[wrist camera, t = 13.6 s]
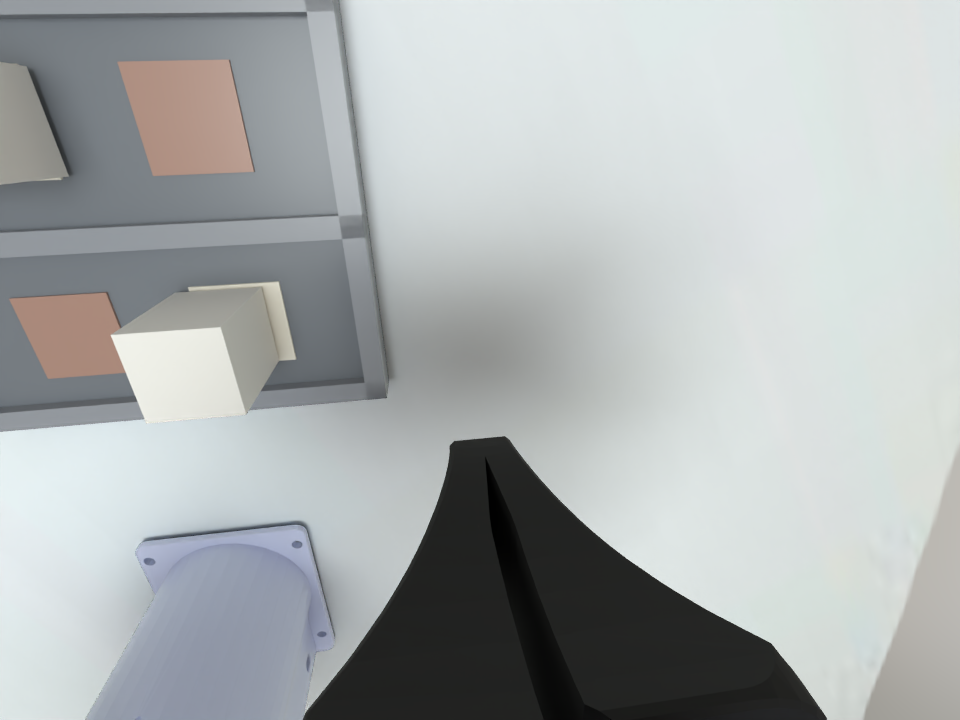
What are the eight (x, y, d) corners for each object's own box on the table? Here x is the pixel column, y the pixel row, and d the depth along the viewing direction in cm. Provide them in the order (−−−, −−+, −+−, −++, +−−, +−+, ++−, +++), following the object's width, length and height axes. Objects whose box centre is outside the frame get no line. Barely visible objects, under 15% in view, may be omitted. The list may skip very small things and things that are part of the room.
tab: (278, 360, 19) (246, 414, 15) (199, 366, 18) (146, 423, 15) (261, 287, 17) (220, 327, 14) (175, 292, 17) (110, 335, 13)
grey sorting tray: (388, 381, 21) (386, 398, 20) (-3, 413, 19) (-34, 434, 18) (337, -9, 15) (329, -23, 14) (-239, -6, 13) (-313, -21, 12)
